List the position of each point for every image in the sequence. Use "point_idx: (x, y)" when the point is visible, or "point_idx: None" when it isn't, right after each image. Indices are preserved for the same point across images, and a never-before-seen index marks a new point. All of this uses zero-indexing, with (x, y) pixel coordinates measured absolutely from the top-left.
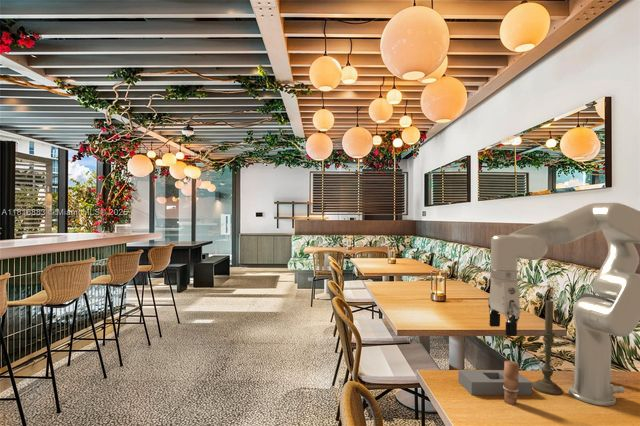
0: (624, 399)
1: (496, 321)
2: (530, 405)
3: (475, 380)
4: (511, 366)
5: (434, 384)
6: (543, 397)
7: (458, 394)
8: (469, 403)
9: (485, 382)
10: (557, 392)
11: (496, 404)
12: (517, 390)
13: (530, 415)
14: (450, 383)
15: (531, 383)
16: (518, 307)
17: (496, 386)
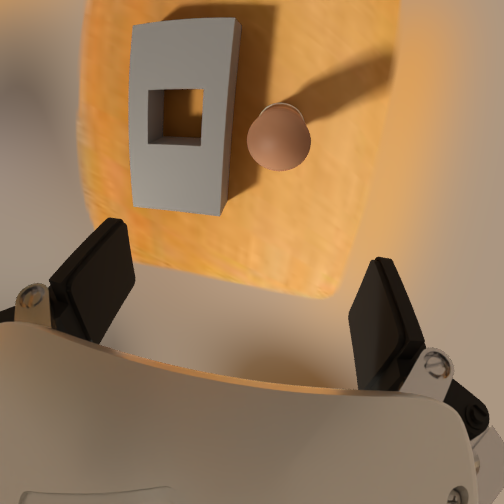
0: None
1: (112, 271)
2: (307, 75)
3: (208, 198)
4: (303, 159)
5: (169, 257)
6: (261, 4)
7: (223, 231)
8: (273, 232)
9: (222, 174)
10: None
11: None
12: (302, 116)
13: (359, 120)
14: (160, 218)
15: (235, 20)
16: (468, 496)
17: (227, 136)
